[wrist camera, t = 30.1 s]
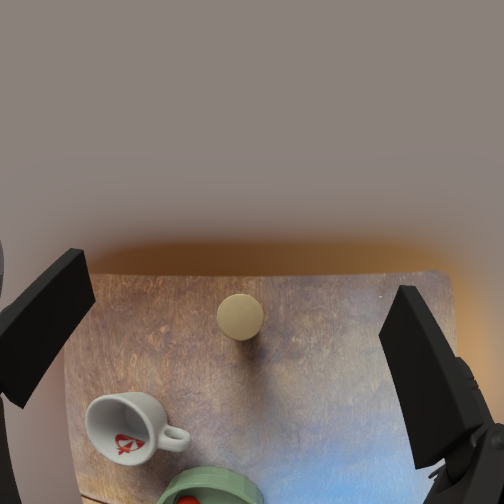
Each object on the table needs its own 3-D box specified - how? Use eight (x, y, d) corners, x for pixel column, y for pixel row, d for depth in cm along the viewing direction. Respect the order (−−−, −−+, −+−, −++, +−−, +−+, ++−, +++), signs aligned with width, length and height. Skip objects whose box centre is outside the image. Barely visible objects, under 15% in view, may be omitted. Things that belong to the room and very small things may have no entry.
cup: (203, 401, 30) (189, 419, 22) (193, 457, 27) (178, 486, 20) (120, 376, 30) (87, 384, 22) (113, 431, 28) (82, 449, 20)
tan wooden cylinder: (228, 320, 32) (208, 305, 18) (252, 309, 33) (251, 285, 18) (239, 343, 32) (228, 348, 17) (263, 332, 32) (272, 328, 18)
